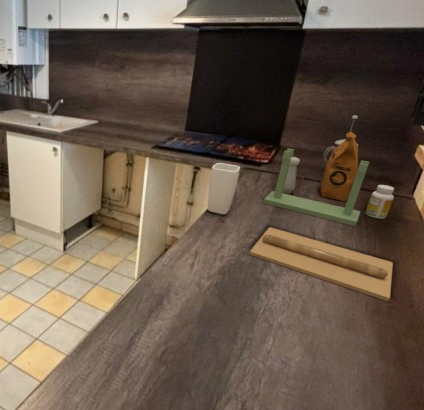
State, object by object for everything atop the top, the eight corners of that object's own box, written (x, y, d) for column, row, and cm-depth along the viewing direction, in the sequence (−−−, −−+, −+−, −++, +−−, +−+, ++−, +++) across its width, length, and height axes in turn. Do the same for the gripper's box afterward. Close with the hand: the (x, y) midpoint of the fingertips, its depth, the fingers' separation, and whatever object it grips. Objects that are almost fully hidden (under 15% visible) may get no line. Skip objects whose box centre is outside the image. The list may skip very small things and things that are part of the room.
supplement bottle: (384, 214, 115) (395, 186, 111) (387, 220, 110) (398, 191, 107) (364, 210, 117) (374, 182, 113) (365, 216, 113) (376, 187, 109)
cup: (203, 212, 114) (210, 167, 108) (209, 204, 119) (217, 162, 113) (226, 218, 110) (235, 172, 104) (232, 210, 116) (241, 166, 110)
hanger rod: (388, 270, 80) (390, 270, 79) (385, 280, 80) (386, 279, 79) (265, 233, 96) (263, 232, 94) (262, 241, 96) (261, 240, 94)
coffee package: (314, 196, 128) (333, 135, 119) (319, 186, 137) (336, 129, 128) (348, 203, 123) (369, 140, 114) (350, 193, 132) (371, 133, 123)
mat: (391, 265, 87) (392, 262, 86) (388, 302, 74) (390, 298, 74) (268, 230, 103) (269, 227, 103) (248, 254, 91) (249, 251, 90)
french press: (355, 180, 145) (376, 118, 135) (324, 178, 146) (343, 116, 136) (343, 172, 154) (362, 113, 144) (314, 171, 155) (331, 112, 145)
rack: (358, 215, 113) (378, 161, 106) (355, 226, 106) (376, 168, 99) (271, 195, 128) (283, 145, 121) (263, 203, 121) (275, 151, 114)
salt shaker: (277, 187, 135) (285, 154, 130) (294, 190, 133) (303, 157, 127) (275, 192, 131) (284, 158, 125) (293, 195, 128) (302, 161, 123)
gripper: (426, 34, 97) (398, 114, 106) (433, 30, 79) (400, 126, 88) (464, 34, 93) (432, 116, 101) (481, 29, 75) (441, 130, 84)
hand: (417, 121), depth 95 cm, fingers open, 13 cm apart
